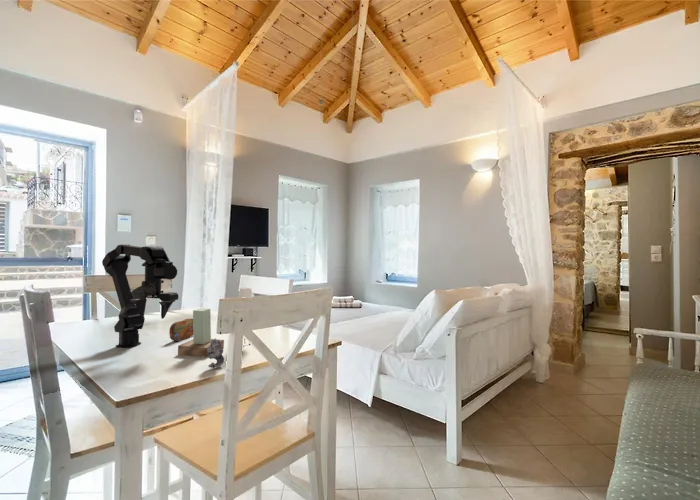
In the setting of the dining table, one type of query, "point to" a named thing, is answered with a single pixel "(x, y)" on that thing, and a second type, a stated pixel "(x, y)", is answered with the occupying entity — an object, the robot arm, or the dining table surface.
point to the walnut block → (195, 348)
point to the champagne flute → (245, 293)
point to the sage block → (201, 326)
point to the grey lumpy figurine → (215, 353)
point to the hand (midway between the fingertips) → (152, 317)
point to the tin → (181, 330)
